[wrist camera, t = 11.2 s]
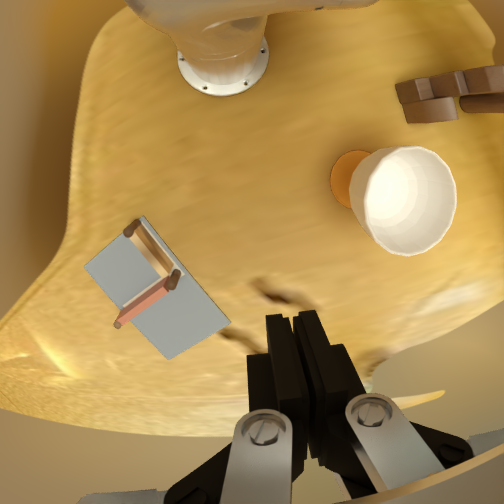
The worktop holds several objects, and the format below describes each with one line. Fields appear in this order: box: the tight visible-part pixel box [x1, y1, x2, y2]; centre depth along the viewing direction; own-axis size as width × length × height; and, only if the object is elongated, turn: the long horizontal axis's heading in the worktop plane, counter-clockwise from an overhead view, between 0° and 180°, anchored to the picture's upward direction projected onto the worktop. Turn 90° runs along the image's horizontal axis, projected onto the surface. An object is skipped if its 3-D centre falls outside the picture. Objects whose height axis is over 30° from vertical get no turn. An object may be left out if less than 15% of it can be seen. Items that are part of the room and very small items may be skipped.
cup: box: [330, 145, 457, 257], centre depth 38 cm, size 12×12×17 cm
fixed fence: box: [123, 220, 181, 290], centre depth 46 cm, size 11×1×5 cm, turn 35°
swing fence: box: [114, 276, 170, 329], centre depth 48 cm, size 11×1×4 cm, turn 126°
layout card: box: [84, 216, 231, 360], centre depth 51 cm, size 22×14×1 cm, turn 35°
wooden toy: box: [395, 65, 504, 123], centre depth 30 cm, size 16×7×25 cm, turn 109°
